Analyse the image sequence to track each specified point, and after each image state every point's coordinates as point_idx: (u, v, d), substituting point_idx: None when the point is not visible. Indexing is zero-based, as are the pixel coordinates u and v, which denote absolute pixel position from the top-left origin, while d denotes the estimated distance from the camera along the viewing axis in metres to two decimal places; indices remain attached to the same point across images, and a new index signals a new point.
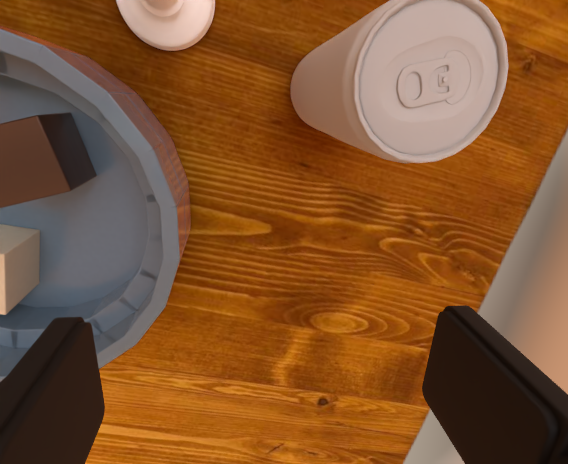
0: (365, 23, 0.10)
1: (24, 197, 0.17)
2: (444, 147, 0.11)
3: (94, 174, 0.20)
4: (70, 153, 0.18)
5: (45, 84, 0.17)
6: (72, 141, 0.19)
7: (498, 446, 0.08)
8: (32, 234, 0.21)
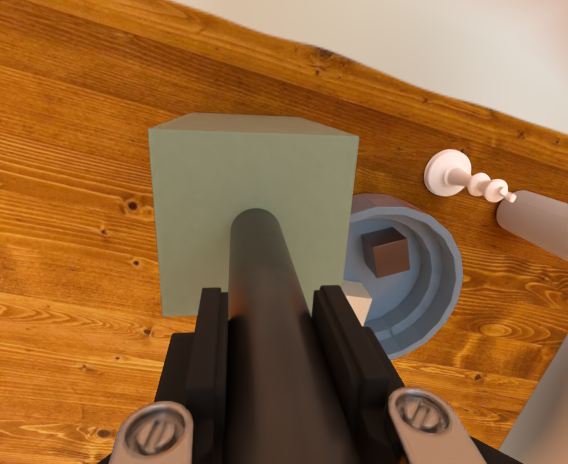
0: None
1: (390, 273, 0.37)
2: None
3: None
4: None
5: (405, 222, 0.36)
6: None
7: None
8: None
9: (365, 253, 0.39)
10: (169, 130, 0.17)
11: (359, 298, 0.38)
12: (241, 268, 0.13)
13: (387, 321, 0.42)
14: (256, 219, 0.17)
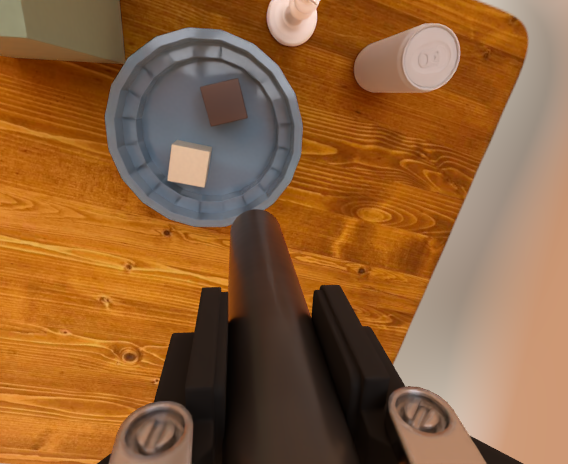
0: (406, 35, 0.27)
1: (225, 120, 0.34)
2: (436, 84, 0.28)
3: None
4: None
5: (238, 63, 0.34)
6: None
7: None
8: (211, 147, 0.38)
9: None
10: None
11: (194, 151, 0.35)
12: (241, 270, 0.12)
13: (242, 191, 0.39)
14: (257, 220, 0.17)
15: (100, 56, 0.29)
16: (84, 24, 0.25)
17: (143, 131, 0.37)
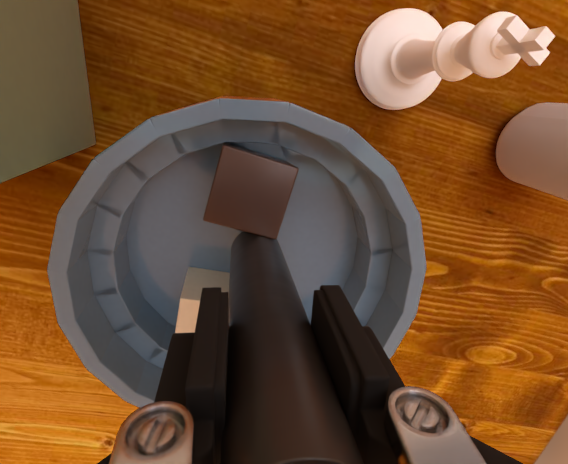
0: None
1: (234, 224, 0.17)
2: None
3: None
4: None
5: (308, 151, 0.18)
6: None
7: None
8: None
9: None
10: None
11: None
12: (241, 280, 0.13)
13: None
14: (257, 237, 0.17)
15: (24, 171, 0.13)
16: None
17: (129, 255, 0.21)
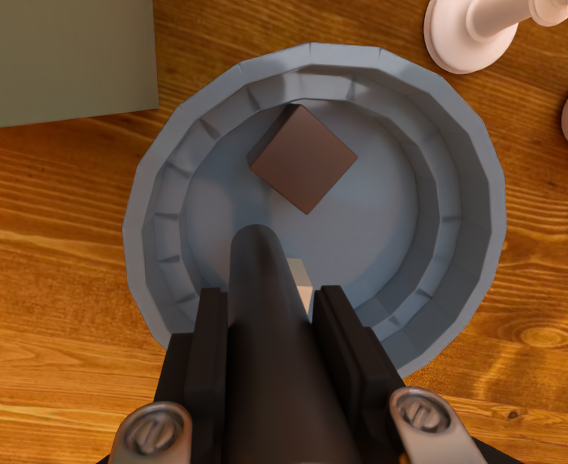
0: None
1: (276, 184, 0.17)
2: None
3: None
4: None
5: (383, 110, 0.17)
6: None
7: None
8: (302, 264, 0.21)
9: (266, 133, 0.18)
10: None
11: None
12: (241, 278, 0.13)
13: None
14: (257, 233, 0.17)
15: (117, 111, 0.12)
16: (77, 38, 0.09)
17: (188, 226, 0.20)
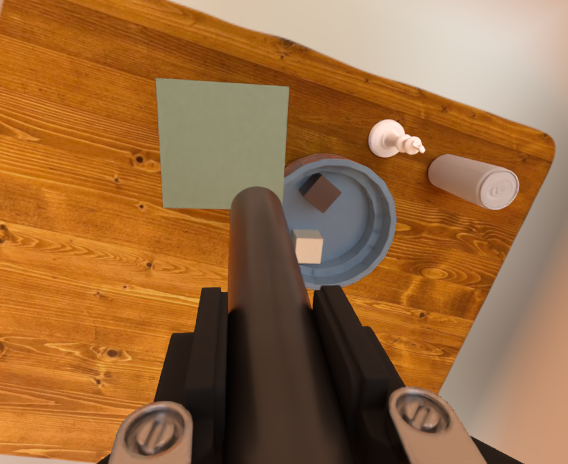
0: (483, 175, 0.40)
1: (312, 202, 0.46)
2: (501, 205, 0.41)
3: None
4: None
5: (351, 175, 0.47)
6: None
7: None
8: None
9: (307, 182, 0.48)
10: (169, 79, 0.27)
11: (312, 240, 0.48)
12: (247, 255, 0.12)
13: (342, 259, 0.52)
14: (263, 200, 0.16)
15: None
16: None
17: None
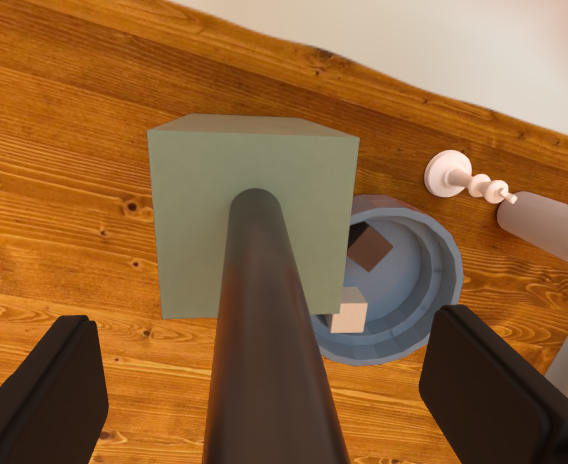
0: None
1: (356, 260, 0.36)
2: None
3: None
4: None
5: (405, 223, 0.36)
6: None
7: (493, 444, 0.08)
8: None
9: None
10: (168, 131, 0.17)
11: (354, 305, 0.38)
12: (241, 247, 0.12)
13: (387, 322, 0.42)
14: (261, 200, 0.16)
15: None
16: None
17: None
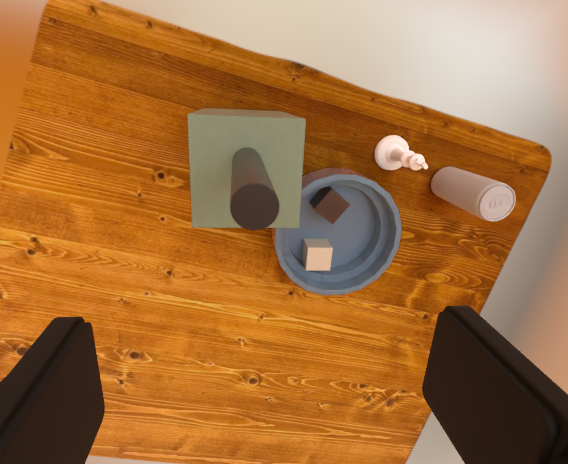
0: (482, 189, 0.43)
1: (322, 214, 0.49)
2: (499, 217, 0.44)
3: None
4: None
5: (359, 188, 0.50)
6: None
7: (498, 446, 0.08)
8: (327, 240, 0.54)
9: (317, 194, 0.51)
10: (199, 115, 0.30)
11: (322, 249, 0.51)
12: (240, 161, 0.26)
13: (350, 266, 0.55)
14: (249, 150, 0.30)
15: None
16: None
17: None
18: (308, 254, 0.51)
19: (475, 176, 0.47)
